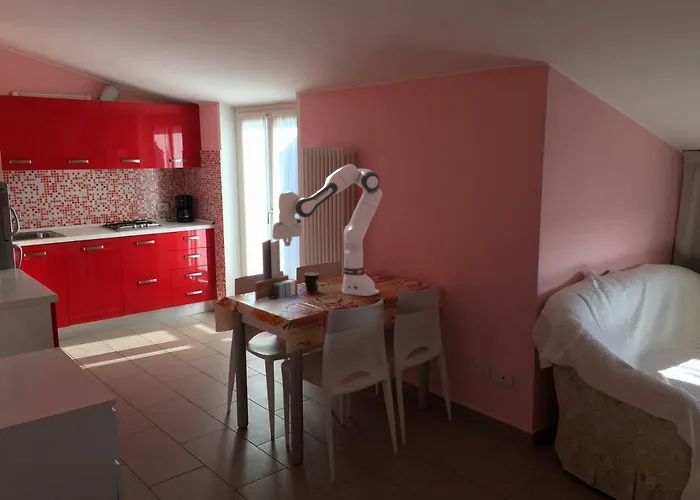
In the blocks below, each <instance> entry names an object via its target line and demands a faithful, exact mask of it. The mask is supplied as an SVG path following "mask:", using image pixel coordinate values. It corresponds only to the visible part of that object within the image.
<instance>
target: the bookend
mask: <svg viewBox="0 0 700 500" xmlns="http://www.w3.org/2000/svg"><path fill="white" fill-rule="evenodd" d="M267 300H271V301H277V300H280V286H276V285H273V296H272V297H269V298H267Z"/></svg>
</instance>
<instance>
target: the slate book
mask: <svg viewBox="0 0 700 500" xmlns="http://www.w3.org/2000/svg"><path fill="white" fill-rule="evenodd" d="M279 283H285V298H288V297H291V293H290V282H287V281H282V282H279Z"/></svg>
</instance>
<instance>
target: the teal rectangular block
mask: <svg viewBox="0 0 700 500" xmlns="http://www.w3.org/2000/svg"><path fill="white" fill-rule="evenodd" d="M274 285H276V286H280V299H284V298H286V297H285V283H279V282H277V283H274ZM280 299H279V300H280Z"/></svg>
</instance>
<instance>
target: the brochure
mask: <svg viewBox="0 0 700 500" xmlns="http://www.w3.org/2000/svg"><path fill="white" fill-rule="evenodd" d="M280 240H281V239H279V240H275V241H273V242H272V239H271V238H270V239H268V240H265V241H263V242H262V243H261V245H262V246H261V247H262V250H261V251H262V277H263V278H262V279H263V280H267V279H271V278H276V277H280V276H281V253H280V252H281V248H280V247H281V244H280ZM263 280H262V281H263Z"/></svg>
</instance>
